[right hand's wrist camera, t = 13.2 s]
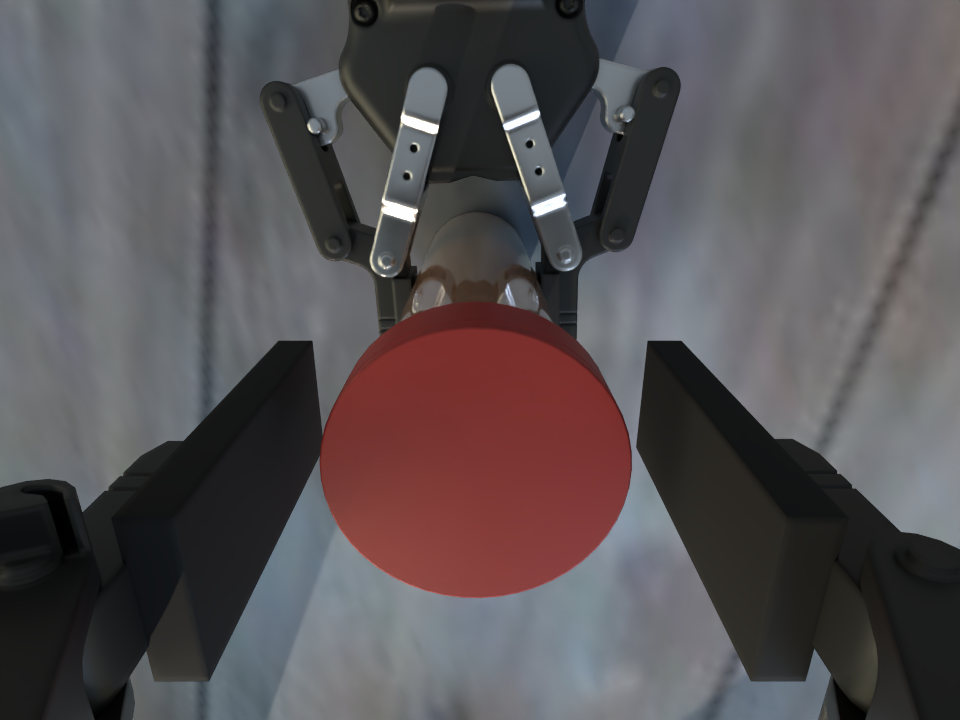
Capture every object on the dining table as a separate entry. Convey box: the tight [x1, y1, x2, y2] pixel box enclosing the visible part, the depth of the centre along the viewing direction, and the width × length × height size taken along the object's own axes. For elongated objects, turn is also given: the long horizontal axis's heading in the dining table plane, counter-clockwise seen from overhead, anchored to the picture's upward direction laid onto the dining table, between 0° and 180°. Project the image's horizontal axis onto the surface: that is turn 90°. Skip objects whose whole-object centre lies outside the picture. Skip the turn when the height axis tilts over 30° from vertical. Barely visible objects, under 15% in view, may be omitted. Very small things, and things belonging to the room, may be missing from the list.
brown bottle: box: [398, 212, 555, 324], centre depth 20 cm, size 5×5×18 cm
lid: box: [320, 302, 632, 598], centre depth 12 cm, size 6×6×2 cm
